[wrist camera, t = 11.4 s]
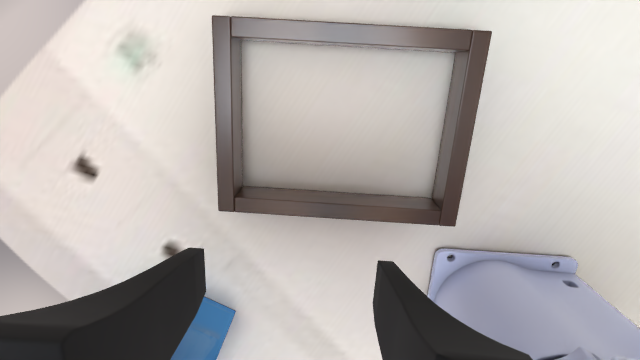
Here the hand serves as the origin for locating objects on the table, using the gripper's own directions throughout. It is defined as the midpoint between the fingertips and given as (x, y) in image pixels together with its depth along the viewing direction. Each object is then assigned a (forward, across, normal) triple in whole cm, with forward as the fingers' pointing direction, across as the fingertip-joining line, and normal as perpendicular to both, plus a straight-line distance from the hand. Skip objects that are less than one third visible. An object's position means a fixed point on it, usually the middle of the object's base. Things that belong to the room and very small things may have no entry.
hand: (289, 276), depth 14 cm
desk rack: (+9, -2, -5) cm, 11 cm away
